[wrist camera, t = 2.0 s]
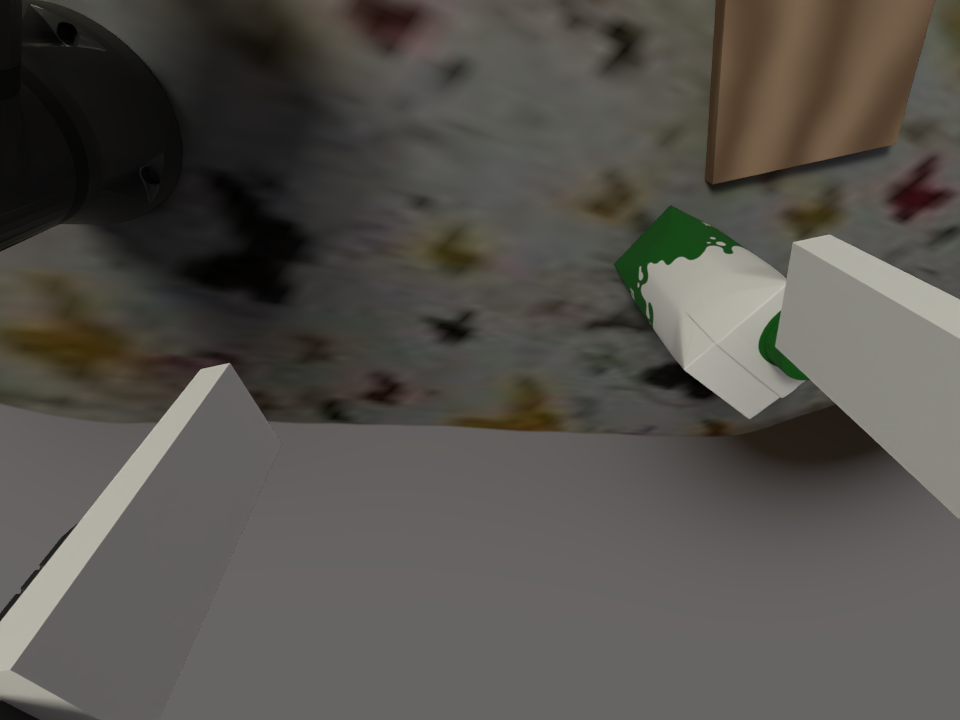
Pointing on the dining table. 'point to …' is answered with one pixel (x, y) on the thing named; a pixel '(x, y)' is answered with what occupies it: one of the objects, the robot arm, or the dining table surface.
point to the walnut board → (808, 80)
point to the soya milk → (712, 309)
